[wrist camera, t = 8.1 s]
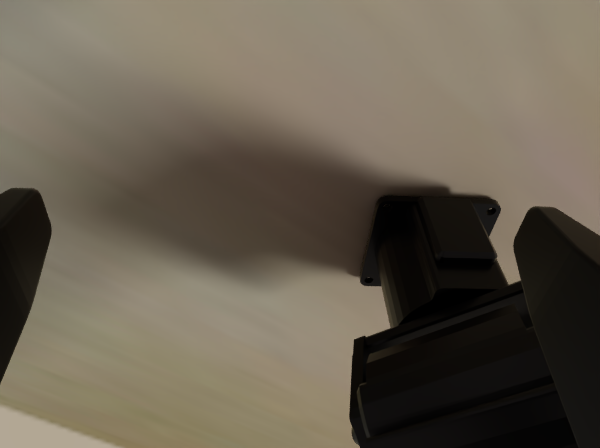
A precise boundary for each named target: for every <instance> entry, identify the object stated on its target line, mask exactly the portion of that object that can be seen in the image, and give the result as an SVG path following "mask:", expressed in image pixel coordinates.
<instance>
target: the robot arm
mask: <svg viewBox="0 0 600 448" xmlns="http://www.w3.org/2000/svg"><path fill="white" fill-rule="evenodd" d="M387 204H389V206H388V207H383V206H384V205H387ZM490 208H492V209H490ZM488 209H490V210H488ZM500 211H501V208H500V206H499V204H498V202H497V201H496V200H493V199H469V198H442V197H413V196H383V197H381V198H380V199H378V201H377V203H376V207H375V211H374V215H373V220H372V224H371V228H370V232H369V237H368V241H367V245H366V249H365V254H364V258H363V262H362V266H361V271H360V275H359V276H360V282H361V284H362V285H364V286H382V291H383V295H384V300H385V305H386V309H387V314H388V318H389V323H390V327H391V328H390V329H387V330H384V331H382V332H379V333H376V334H373V335H371V336H368V337H366V336H362V337H360V338H357V339H354V349H353V356H352V375H351V395H350V414H349V417H350V422H351V425H352V437H353V439H354V441H355V443H356V444H358V445H359V446H360V448H600V236H599V235H598V234H596V233H595V232H593V231H591V230H590V229H588V228H587V227H585V226H583V225H582V224H580V223H579V222H577V221H575V220H574V219H572V218H571V217H569V216H568V215H566V214H564V213H563V212H561V211H560V210H558V209H556V208H554V207H539V206H535V207H532V208H530V209H529V210H528V212H527V213H526V215H525V218H524V220H523V222H522V224H521V226H520V228H519V230H518V232H517V234H516V236H515V239H514V245H513V247H514V254H515V258H516V262H517V266H518V270H519V274H520V278H521V281H518V282H515V283H513V284H510V285H509V284H508V282H507V280H506V278H505V276H504V274H503V272H502V270H501V267H500V265H499V263H498V261H497V259H496V258H497V253H496V251H495V249H494V247H493V245H492V243H491V241H490V239H489V236H490V233H491V231H492V229H493V227H494V225H495V222H496V220H497V218H498V216H499V214H500ZM51 232H52V228H51V223H50V220H49V217H48V214H47V211H46V208H45V205H44V202H43V199H42V196H41V194H40V193H39V191H38V190H36V189H33V188H11V189H9V190H7V191H5V192H3V193H2V194H0V383H1V381H2V379H3V376H4V374H5V371H6V369H7V367H8V364H9V362H10V359H11V357H12V354H13V352H14V350H15V347H16V345H17V342H18V340H19V337H20V335H21V333H22V330H23V328H24V325H25V323H26V320H27V318H28V315H29V313H30V310H31V307H32V304H33V300H34V297H35V294H36V290H37V286H38V283H39V279H40V275H41V272H42V268H43V264H44V261H45V257H46V253H47V250H48V246H49V242H50V239H51ZM368 277H370V278H368Z"/></svg>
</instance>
